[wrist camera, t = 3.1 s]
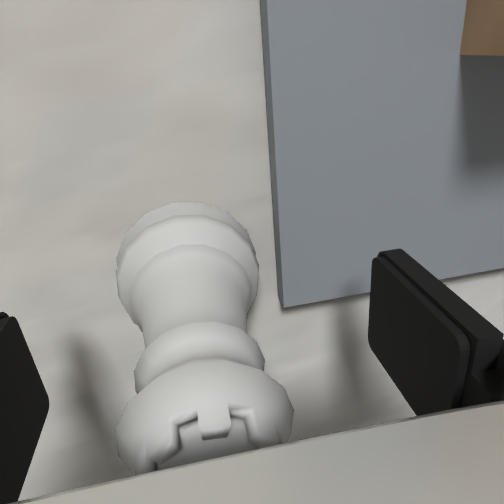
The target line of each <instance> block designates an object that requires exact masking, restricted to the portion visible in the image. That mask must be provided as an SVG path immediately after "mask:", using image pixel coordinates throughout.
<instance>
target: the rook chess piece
mask: <svg viewBox="0 0 504 504" xmlns="http://www.w3.org/2000/svg"><path fill="white" fill-rule="evenodd" d="M255 254H256V252H255V250H254V247H253V245H252V242H251V240H250V237H249V234H248V232H247V230H246V229H245V228H244V227H243V226H242V225H241V224H240V223H239V222H238V221H237V220H236V219H235V218H234V217H233V216H232V215H231V214H229V213H228V212H226V211H223V210H221V209H218V208H216V207H213V206H210V205H208V204H205V203H203V202H189V203H171V204H168V205H166V206H163V207H161V208H158V209H156V210H153V211H151V212H148V213H146V214H145V215H144V216H143V217H142V218H141V219H140V220H139V221H138V222H137V223H136V224H135V225H134V226H133V227H132V228H131V229H130V230H129V231H127V232H126V234H125V237H124V239H123V242H122V245H121V247H120V250H119V252H118V255H117V267H118V268H117V270H116V274H117V285H118V295H119V298H120V301H121V303H122V305H123V306H124V308H125V309H126V311H127V313H128V314H129V316H130V317H131V319H132V321H133V322H134V323H135V324H136V325H138V326H139V328H140V330H141V331H142V332H143V336H144V342H145V348H146V349H144V350H143V352H142V354H141V357H140V359H139V361H138V363H137V366H136V368H135V370H134V376H135V388H136V392H137V395H136V396H135V397H134V398H133V399H131V400H130V401H129V402H128V403H127V405H126V407H125V410H124V412H123V414H122V416H121V419H120V421H119V423H118V425H117V427H116V430H115V431H116V439H117V447H118V455H119V457H120V458H121V459H122V460H123V461H124V463H125V464H126V465H127V466H128V468H129V469H130V470H131V471H132V473H133V474H134V475H135V476H136V475H140V474H145V473H149V472H154V471H159V470H163V469H168V468H172V467H177V466H182V465H186V464H191V463H196V462H200V461H205V460H210V459H214V458H219V457H224V456H228V455H233V454H238V453H243V452H247V451H252V450H257V449H261V448H266V447H271V446H275V445H280V444H285V443H286V442H287V440H288V438H289V436H290V434H291V427H292V419H293V412H294V409H293V407H292V404H291V402H290V400H289V398H288V395H287V393H286V391H285V388H284V387H283V386H282V385H280V384H279V383H278V382H276V381H275V380H274V379H273V378H271V377H270V376H269V375H267V374H266V373H265V372H264V364H265V359H264V357H263V355H262V352H261V350H260V348H259V346H258V343H257V342H256V341H255V340H254V339H253V338H251V337H250V336H249V335H248V334H247V323H246V315H247V313H248V311H249V309H250V307H251V304H252V303H253V301H254V299H255V297H256V295H257V287H258V272H259V264H258V262H257V259H256V256H255Z"/></svg>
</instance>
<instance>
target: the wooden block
mask: <svg viewBox="0 0 504 504" xmlns="http://www.w3.org/2000/svg"><path fill="white" fill-rule="evenodd" d="M460 55H490V56H504V0H467V3H466V11H465V18H464V26H463V33H462V41H461V48H460Z"/></svg>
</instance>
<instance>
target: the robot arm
mask: <svg viewBox="0 0 504 504" xmlns="http://www.w3.org/2000/svg"><path fill="white" fill-rule="evenodd" d="M503 335H504V334H503V333H502V332H500V331H499V330H498V329H497V328H496V327H494V326H493V325H492V324H491V323H490V322H488V321H487V320H486V319H485V318H484V317H482V316H481V315H480V314H479V313H478V312H477V311H475V310H474V309H473V308H472V307H471V306H469V305H468V304H467V303H466V302H465V301H463V300H462V299H461V298H460V297H459V296H457V295H456V294H455V293H454V292H453V291H451V290H450V289H449V288H448V287H447V286H446V285H444V284H443V283H442V282H441V281H440V280H438V279H437V278H436V277H435V276H434V275H432V274H431V273H430V272H429V271H428V270H426V269H425V268H424V267H423V266H422V265H420V264H419V263H418V262H417V261H416V260H415V259H413V258H412V257H411V256H410V255H409V254H407V253H406V252H405V251H404V250H402V249H401V248H400V249H393V250H387V251H380V252H379V253H378V255H377V257H376V258H373V260H372V266H371V286H370V306H369V326H368V341H369V345H370V347H371V349H372V351H373V352H374V354H375V355H376V357H377V358H378V360H379V361H380V363H381V364H382V366H383V367H384V368H385V370H386V371H387V373H388V374H389V376H390V377H391V379H392V380H393V382H394V383H395V385H396V386H397V388H398V389H399V390H400V392H401V393H402V395H403V396H404V398H405V399H406V401H407V402H408V404H409V405H410V407H411V408H412V410H413V411H414V412H415V414H416V415H417V416H415V417H410V418H405V419H400V420H395V421H391V422H386V423H381V424H376V425H371V426H366V427H362V428H357V429H352V430H347V431H342V432H338V433H333V434H328V435H323V436H318V437H314V438H309V439H304V440H299V441H294V442H290V443H285V444H280V445H275V446H271V447H266V448H261V449H257V450H252V451H247V452H243V453H238V454H233V455H228V456H224V457H219V458H214V459H210V460H205V461H200V462H196V463H191V464H186V465H182V466H177V467H172V468H168V469H163V470H159V471H154V472H149V473H145V474H140V475H136V476H131V477H127V478H122V479H117V480H113V481H108V482H104V483H99V484H95V485H90V486H86V487H81V488H76V489H72V490H67V491H63V492H58V493H54V494H49V495H45V496H40V497H35V498H31V499H26V500H22V501H18V498H19V496H20V493H21V490H22V487H23V484H24V481H25V478H26V475H27V472H28V469H29V466H30V463H31V460H32V457H33V455H34V452H35V449H36V446H37V443H38V440H39V437H40V434H41V431H42V428H43V425H44V422H45V419H46V416H47V414H48V410H49V398H48V395H47V392H46V390H45V388H44V385H43V383H42V380H41V378H40V375H39V373H38V370H37V368H36V365H35V363H34V360H33V358H32V356H31V353H30V351H29V348H28V346H27V343H26V341H25V338H24V336H23V333H22V331H21V328H20V326H19V324H18V321H17V319H16V318H15V317H13V316H12V317H9V316H8V315H7V314H6V313H4V312H0V504H504V340H503ZM17 501H18V502H17Z"/></svg>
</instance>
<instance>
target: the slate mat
mask: <svg viewBox="0 0 504 504" xmlns="http://www.w3.org/2000/svg"><path fill="white" fill-rule="evenodd" d="M466 3H467V0H260V10H261V26H262V42H263V59H264V75H265V91H266V107H267V123H268V139H269V155H270V171H271V187H272V203H273V219H274V235H275V251H276V267H277V283H278V296H279V298H280V300H281V303H282V305H283V307H284V308H286V307H291V306H297V305H302V304H308V303H313V302H319V301H324V300H330V299H335V298H341V297H346V296H352V295H357V294H363V293H368V292H370V286H371V266H372V260H373V258H376V257H377V255H378V253H379V252H380V251H387V250H393V249H400V248H401V249H402V250H404V251H405V252H406V253H407V254H409V255H410V256H411V257H412V258H413V259H415V260H416V261H417V262H418V263H419V264H420V265H422V266H423V267H424V268H425V269H426V270H428V271H429V272H430V273H431V274H432V275H434V276H435V277H436V278H437V279H438V280H440V279H445V278H451V277H456V276H462V275H468V274H473V273H479V272H484V271H490V270H495V269H501V268H504V56H490V55H460V48H461V41H462V33H463V26H464V18H465V11H466Z"/></svg>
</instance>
